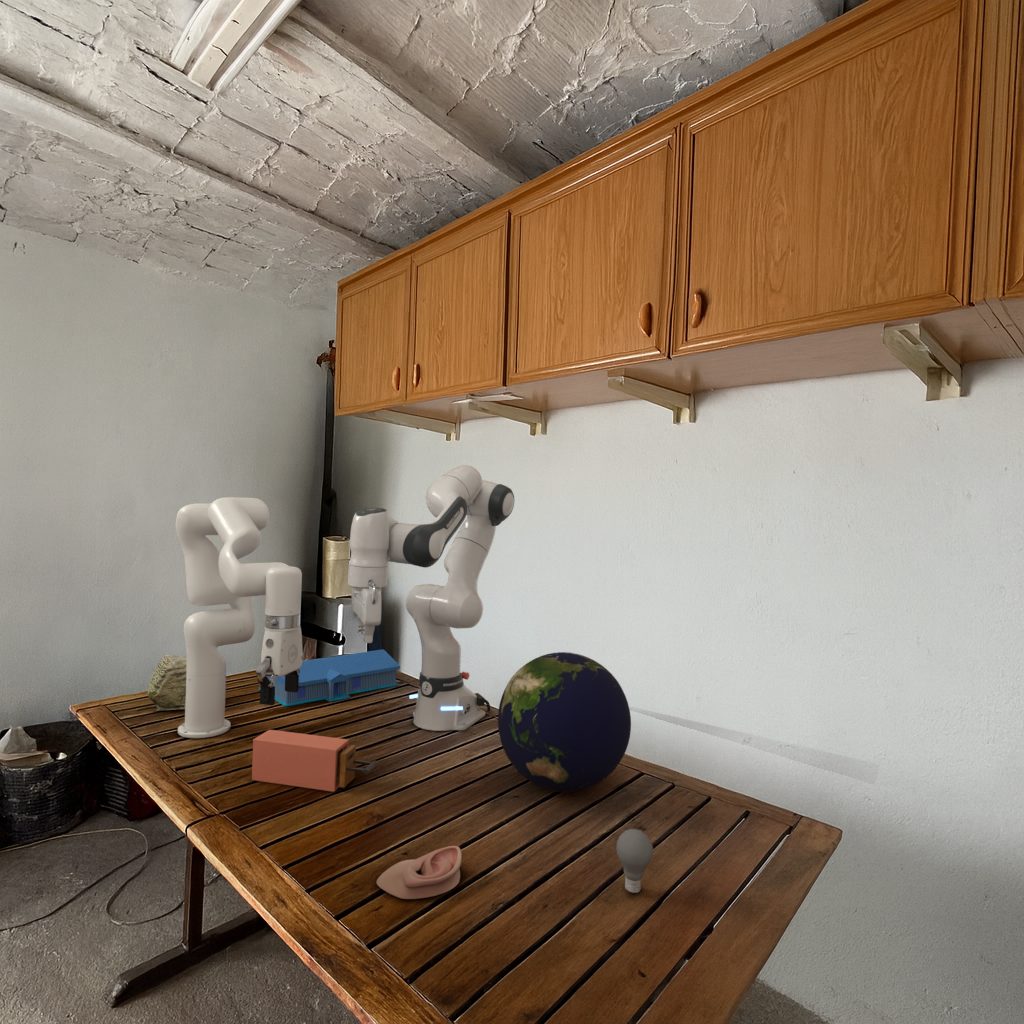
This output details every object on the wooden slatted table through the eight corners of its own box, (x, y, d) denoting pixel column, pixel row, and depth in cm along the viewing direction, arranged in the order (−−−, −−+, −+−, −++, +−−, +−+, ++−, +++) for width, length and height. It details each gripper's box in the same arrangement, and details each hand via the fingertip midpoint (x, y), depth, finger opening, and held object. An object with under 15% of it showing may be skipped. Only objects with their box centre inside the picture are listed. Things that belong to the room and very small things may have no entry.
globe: (472, 799, 135) (478, 659, 135) (523, 750, 163) (528, 634, 162) (610, 832, 124) (617, 680, 124) (639, 773, 152) (645, 649, 151)
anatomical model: (369, 868, 102) (396, 832, 113) (368, 893, 102) (395, 854, 113) (448, 882, 99) (468, 844, 110) (447, 907, 99) (467, 866, 110)
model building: (289, 709, 186) (291, 675, 185) (258, 688, 204) (259, 657, 204) (403, 687, 212) (405, 657, 212) (366, 670, 230) (368, 643, 230)
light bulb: (610, 879, 108) (613, 822, 108) (644, 879, 109) (647, 822, 109) (619, 902, 102) (622, 840, 102) (655, 901, 103) (658, 840, 103)
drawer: (377, 780, 140) (378, 748, 140) (367, 791, 135) (368, 757, 135) (278, 767, 145) (279, 735, 145) (265, 776, 140) (266, 743, 140)
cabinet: (347, 779, 142) (349, 739, 142) (334, 791, 136) (335, 750, 136) (268, 768, 146) (269, 729, 146) (251, 780, 140) (253, 739, 140)
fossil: (144, 707, 182) (145, 655, 182) (212, 696, 194) (213, 647, 194) (151, 716, 175) (153, 662, 175) (221, 703, 188) (223, 653, 188)
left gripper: (276, 630, 132) (273, 711, 133) (317, 616, 149) (314, 688, 150) (243, 627, 134) (241, 708, 134) (288, 614, 151) (285, 685, 151)
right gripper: (389, 584, 137) (386, 647, 137) (374, 573, 156) (371, 629, 157) (360, 583, 135) (357, 648, 135) (348, 572, 154) (345, 629, 154)
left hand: (279, 697), depth 142 cm, fingers open, 9 cm apart
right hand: (364, 637), depth 146 cm, fingers open, 8 cm apart
